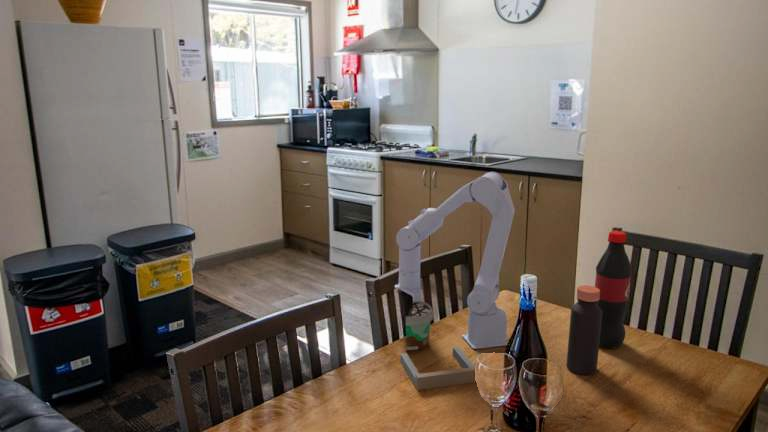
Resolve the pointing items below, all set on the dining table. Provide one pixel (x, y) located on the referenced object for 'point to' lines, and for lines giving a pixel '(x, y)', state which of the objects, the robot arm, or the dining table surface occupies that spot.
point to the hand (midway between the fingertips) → (409, 316)
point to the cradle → (441, 373)
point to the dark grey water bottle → (584, 331)
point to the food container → (418, 326)
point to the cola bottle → (613, 290)
